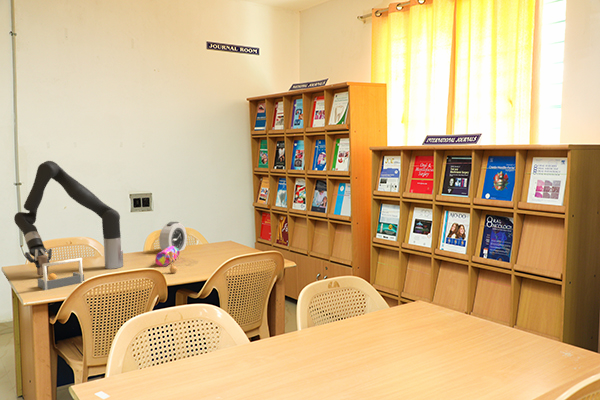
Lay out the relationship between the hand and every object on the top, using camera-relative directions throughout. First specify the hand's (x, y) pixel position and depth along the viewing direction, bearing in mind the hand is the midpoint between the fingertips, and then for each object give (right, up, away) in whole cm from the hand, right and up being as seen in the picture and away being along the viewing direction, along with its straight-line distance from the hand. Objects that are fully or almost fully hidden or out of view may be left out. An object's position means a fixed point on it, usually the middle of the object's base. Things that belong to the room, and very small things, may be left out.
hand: (43, 266), depth 263 cm
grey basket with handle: (+16, -7, -14) cm, 22 cm away
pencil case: (+57, -3, +34) cm, 66 cm away
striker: (-1, -4, +2) cm, 5 cm away
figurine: (+66, -5, +8) cm, 67 cm away
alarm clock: (+51, +1, +70) cm, 87 cm away
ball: (+8, -5, -7) cm, 12 cm away
